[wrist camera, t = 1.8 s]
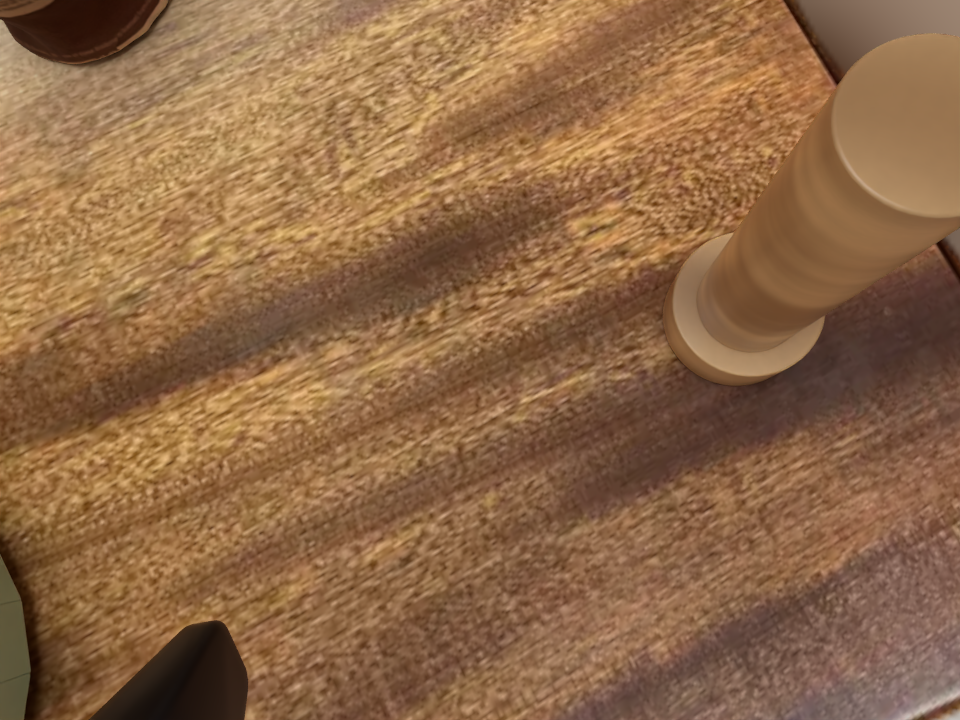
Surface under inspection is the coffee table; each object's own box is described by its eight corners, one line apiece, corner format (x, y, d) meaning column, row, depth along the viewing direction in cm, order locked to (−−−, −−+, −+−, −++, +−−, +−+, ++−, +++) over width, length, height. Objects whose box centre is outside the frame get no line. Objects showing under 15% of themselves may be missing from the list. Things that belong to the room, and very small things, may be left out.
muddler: (805, 389, 24) (1104, 268, 11) (660, 382, 24) (785, 258, 11) (803, 253, 24) (1082, -11, 11) (663, 249, 25) (783, -10, 12)
